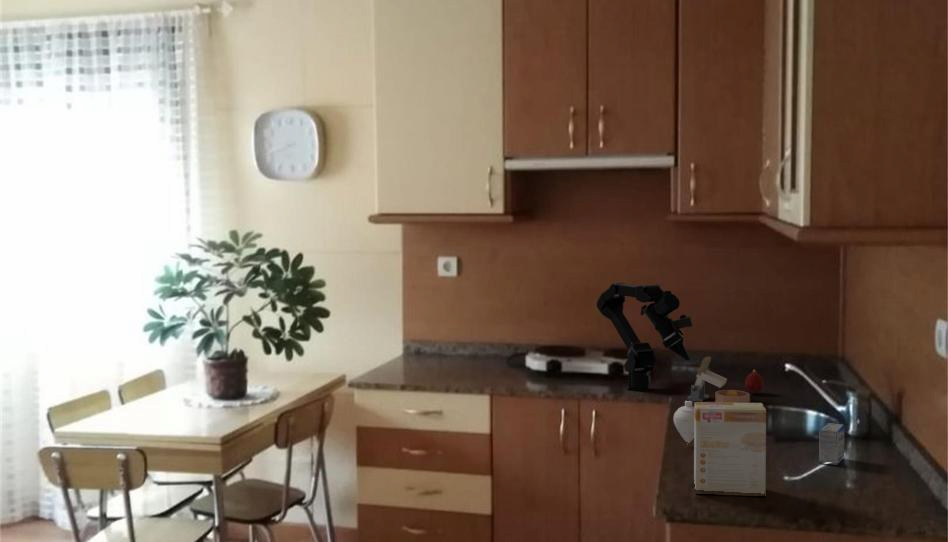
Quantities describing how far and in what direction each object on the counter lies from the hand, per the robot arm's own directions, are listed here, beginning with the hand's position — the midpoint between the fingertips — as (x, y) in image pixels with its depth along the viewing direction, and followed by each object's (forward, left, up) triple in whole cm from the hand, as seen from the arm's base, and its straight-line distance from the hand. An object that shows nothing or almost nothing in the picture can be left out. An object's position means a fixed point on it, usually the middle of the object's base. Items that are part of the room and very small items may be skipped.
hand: (688, 359), depth 302 cm
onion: (+18, +14, -12) cm, 26 cm away
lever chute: (+6, -2, -10) cm, 12 cm away
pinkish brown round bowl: (+15, -2, -12) cm, 19 cm away
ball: (+15, -2, -10) cm, 18 cm away
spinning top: (+18, -58, -12) cm, 62 cm away
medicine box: (+53, -55, -12) cm, 78 cm away
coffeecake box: (+37, -90, -12) cm, 98 cm away
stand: (+4, -2, -12) cm, 13 cm away
